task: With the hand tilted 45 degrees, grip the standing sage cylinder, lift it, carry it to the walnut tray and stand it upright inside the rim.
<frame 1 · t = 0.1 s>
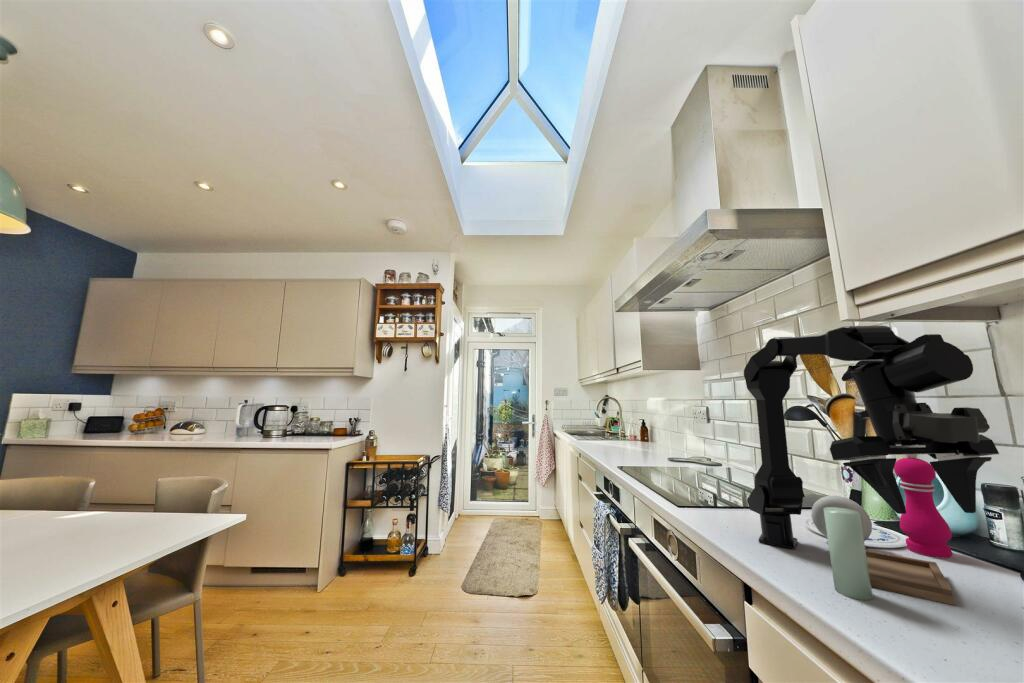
hand: (936, 513, 51), 15 cm above the countertop, tool pointing down, fingers open, 9 cm apart
walnut tray: (890, 577, 66), on the countertop
pepper mill: (929, 553, 76), on the countertop
sage cylinder: (853, 592, 61), on the countertop
donut: (844, 545, 81), on the countertop
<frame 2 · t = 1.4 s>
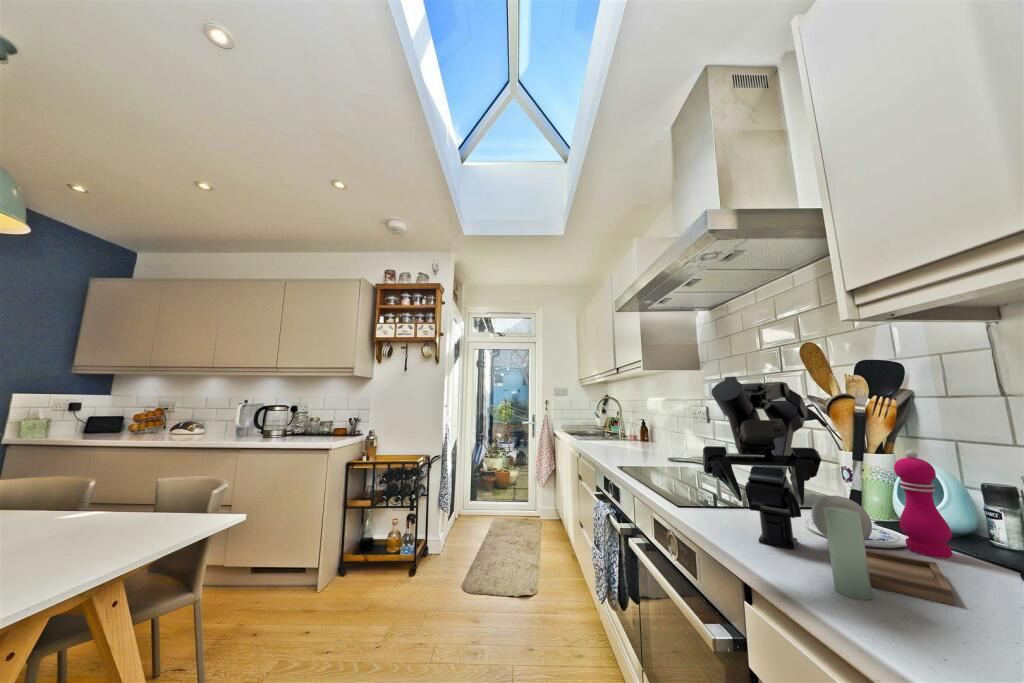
hand: (770, 501, 66), 13 cm above the countertop, tool tilted 45°, fingers open, 9 cm apart
nothing on the countertop moved.
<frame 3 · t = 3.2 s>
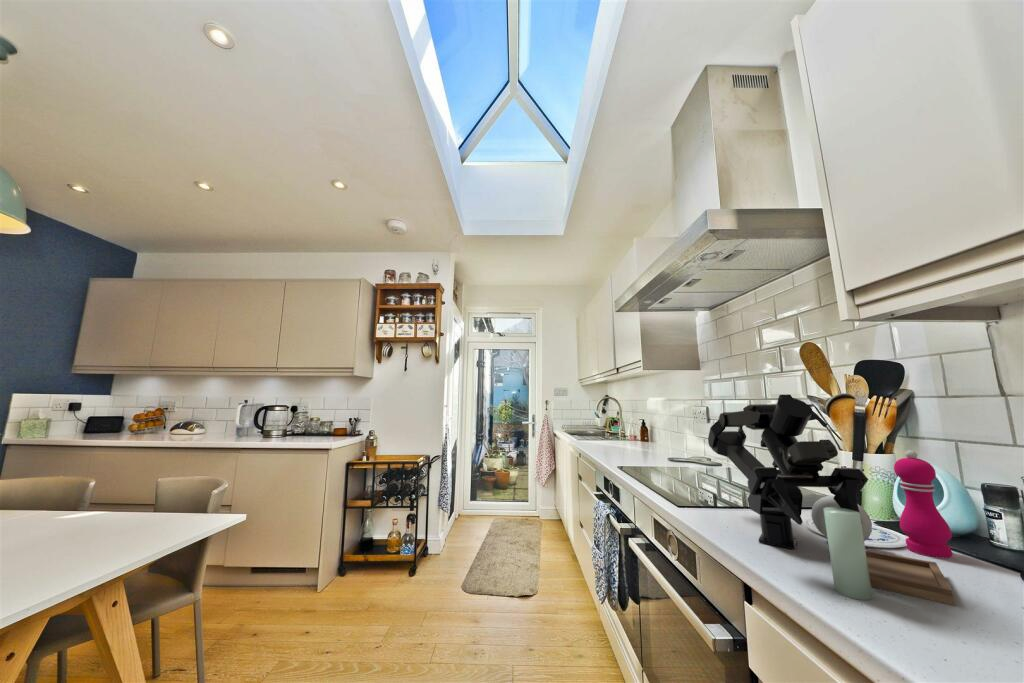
hand: (829, 524, 66), 9 cm above the countertop, tool tilted 45°, fingers open, 9 cm apart
nothing on the countertop moved.
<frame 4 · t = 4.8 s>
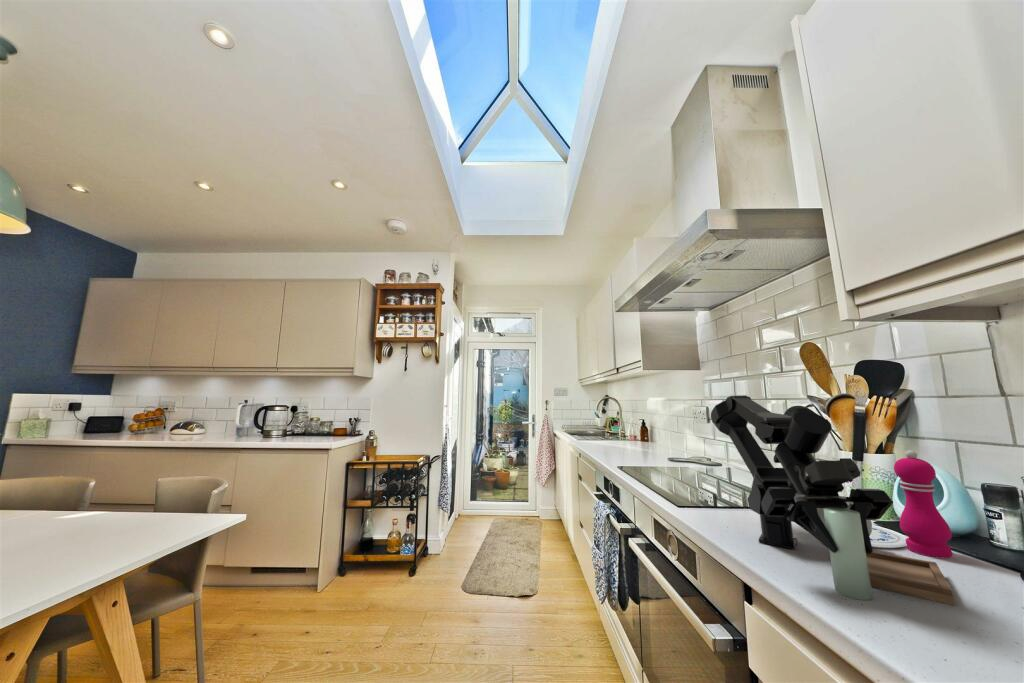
hand: (852, 552, 60), 7 cm above the countertop, tool tilted 45°, fingers closed on sage cylinder, 5 cm apart
sage cylinder: (853, 592, 61), on the countertop, touching gripper
everything else where it was.
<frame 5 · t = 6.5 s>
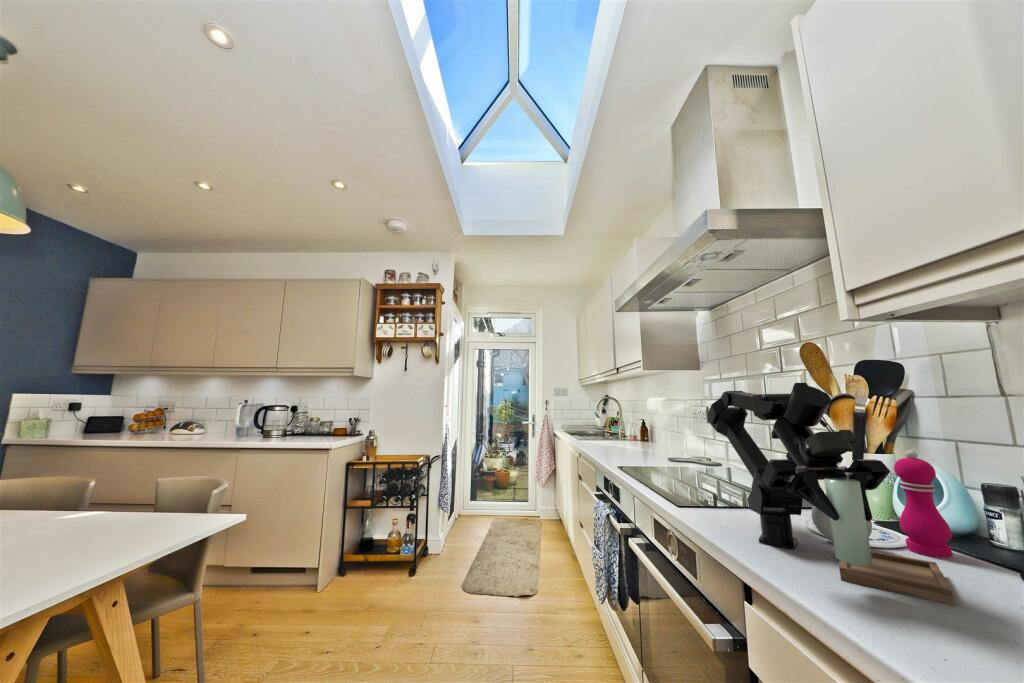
hand: (853, 519, 61), 11 cm above the countertop, tool tilted 45°, fingers closed on sage cylinder, 5 cm apart
sage cylinder: (853, 559, 62), point 5 cm above the countertop, touching gripper
everything else where it was.
when the fingers open (9 cm above the countertop, at t = 8.3 s): sage cylinder drops 1 cm, resting on walnut tray.
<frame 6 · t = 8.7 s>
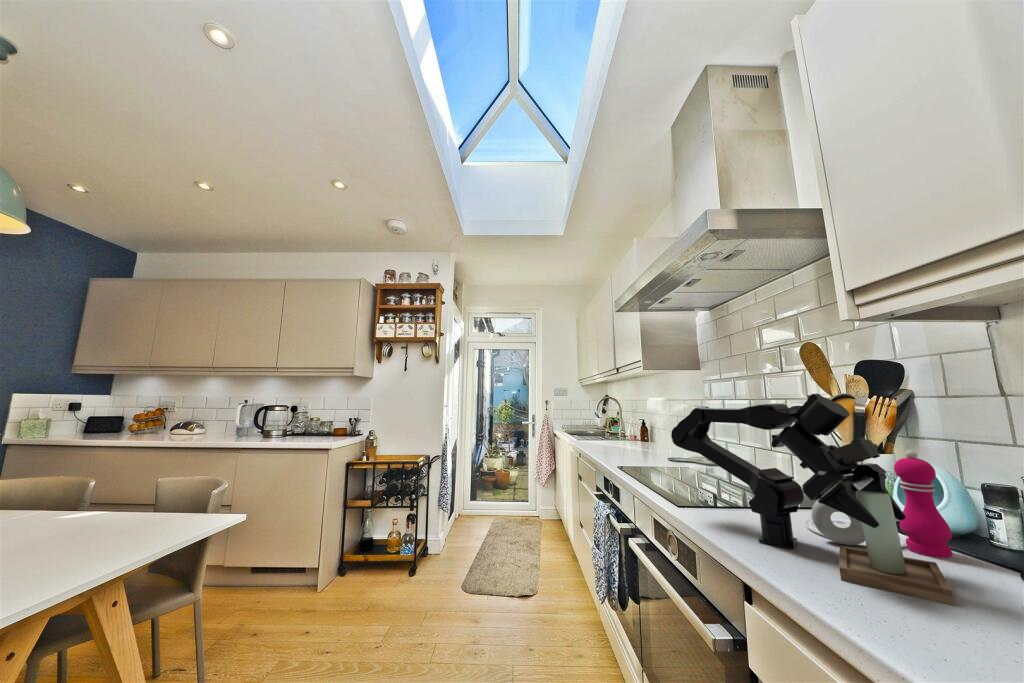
hand: (890, 522, 66), 9 cm above the countertop, tool tilted 45°, fingers open, 9 cm apart
sage cylinder: (888, 569, 66), point 1 cm above the countertop, touching walnut tray
everything else where it was.
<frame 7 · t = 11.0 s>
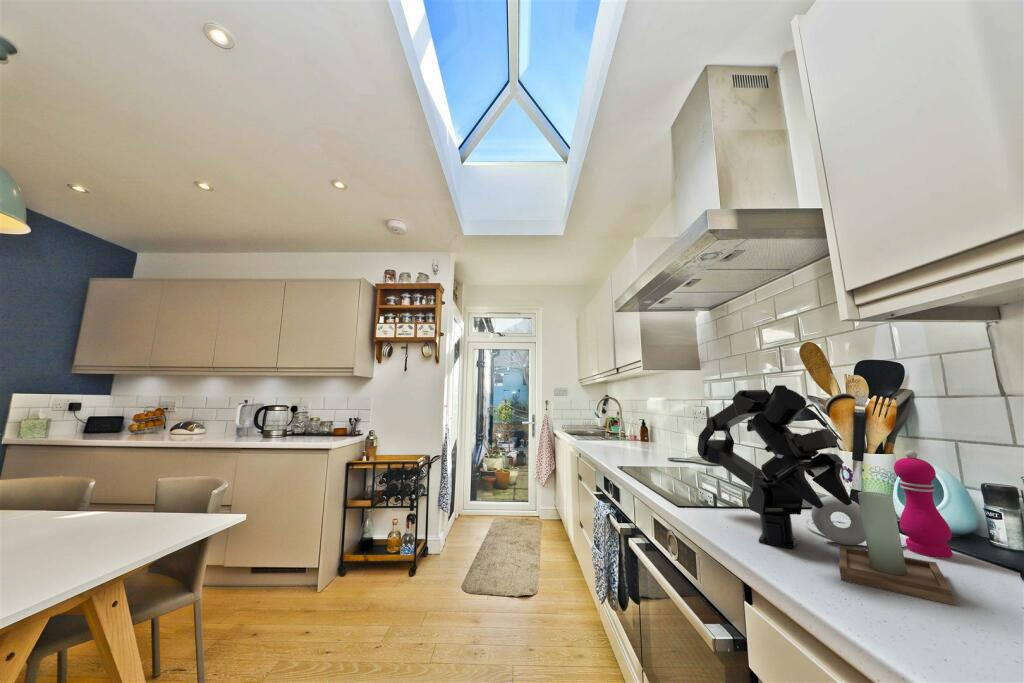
hand: (836, 506, 72), 11 cm above the countertop, tool tilted 40°, fingers open, 9 cm apart
nothing on the countertop moved.
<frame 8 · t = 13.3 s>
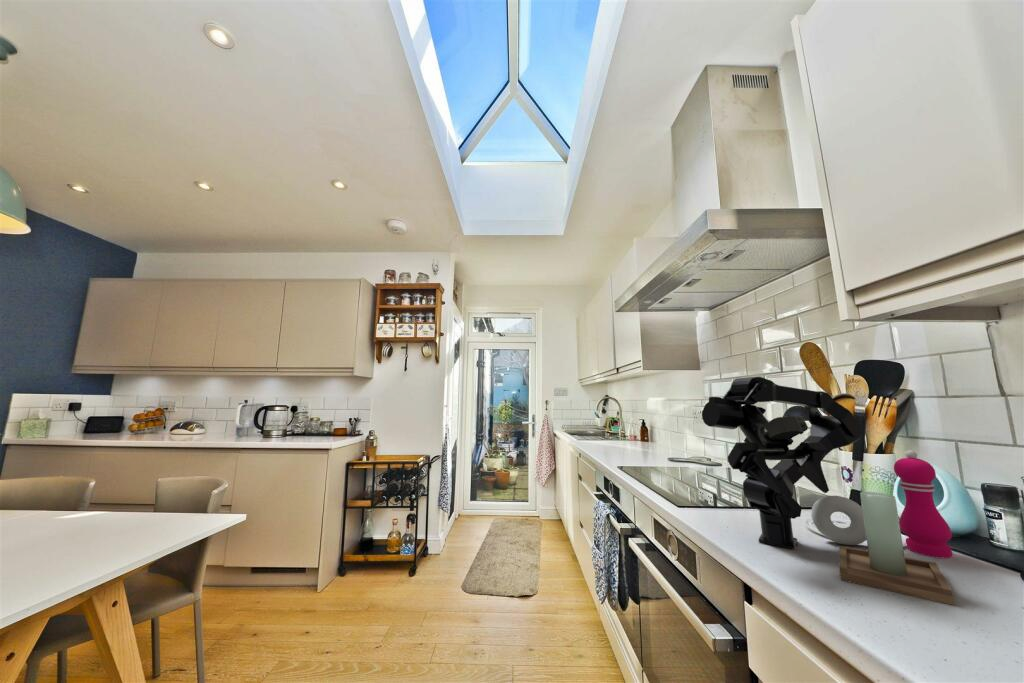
hand: (804, 492, 71), 14 cm above the countertop, tool tilted 45°, fingers open, 9 cm apart
nothing on the countertop moved.
at the end: sage cylinder 0.1 cm off-centre on the walnut tray, point 1.3 cm above the walnut tray's base; sage cylinder tilted 1°; the gripper is holding nothing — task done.
